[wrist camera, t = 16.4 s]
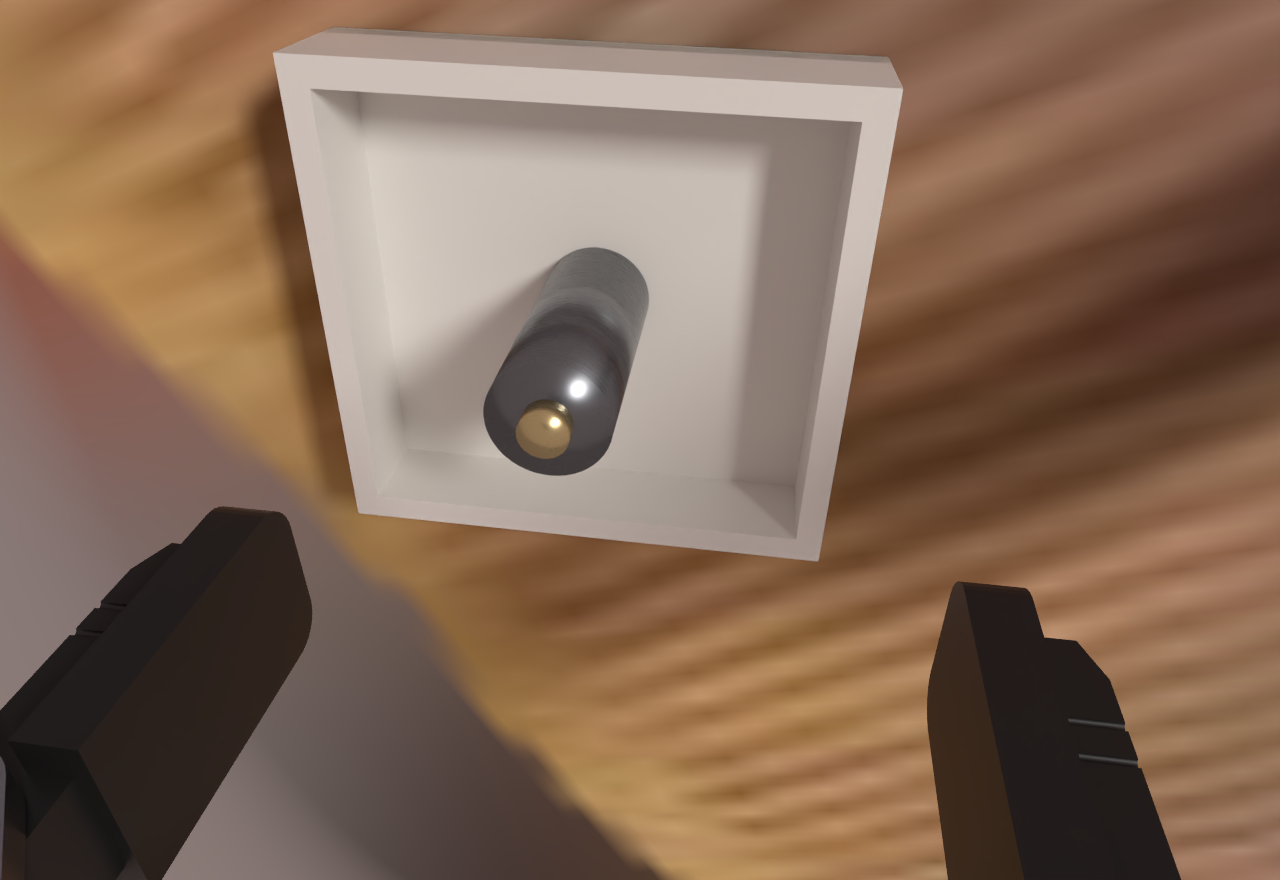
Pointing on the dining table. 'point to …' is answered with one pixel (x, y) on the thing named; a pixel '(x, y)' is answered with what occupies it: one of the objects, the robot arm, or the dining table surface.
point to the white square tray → (605, 218)
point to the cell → (569, 365)
